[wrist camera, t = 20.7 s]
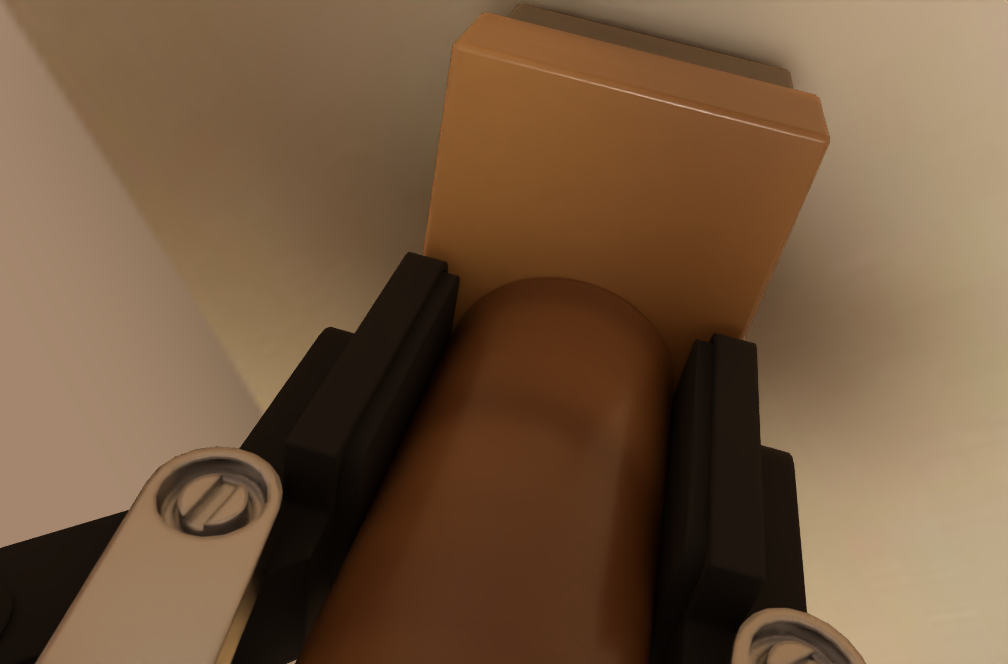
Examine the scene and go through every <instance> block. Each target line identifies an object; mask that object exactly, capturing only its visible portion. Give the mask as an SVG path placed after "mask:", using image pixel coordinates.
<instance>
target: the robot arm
mask: <svg viewBox="0 0 1008 664" xmlns="http://www.w3.org/2000/svg"><path fill="white" fill-rule="evenodd" d="M459 282H460V277H459V276H458V275H454V274H450V273H448V263H447V262H446V261H442V260H438V259H435V258H431V257H427V256H423V255H419V254H416V253H412V252H408V253H407V254H406V255H405V256H404V258H403V259H402V261H401V263H400V264H399V266H398V267H397V269H396V270H395V272H394V273H393V275H392V276H391V278H390V280H389V281H388V283H387V284H386V286H385V287H384V289H383V290H382V292H381V294H380V295H379V297H378V298H377V300H376V301H375V303H374V304H373V306H372V307H371V309H370V311H369V312H368V314H367V315H366V317H365V318H364V320H363V321H362V323H361V324H360V326H359V328H358V329H357V331H356V332H355V334H354V333H351V332H347V331H344V330H340V329H336V328H333V327H328V328H326V329H324V331H323V332H322V333H321V334H320V335H319V336H318V338H317V339H316V341H315V342H314V343H313V345H312V346H311V348H310V349H309V351H308V352H307V353H306V355H305V356H304V358H303V359H302V361H301V362H300V363H299V365H298V366H297V368H296V369H295V370H294V372H293V373H292V375H291V376H290V378H289V379H288V380H287V382H286V383H285V385H284V386H283V387H282V389H281V390H280V392H279V393H278V395H277V396H276V397H275V399H274V400H273V402H272V403H271V405H270V406H269V407H268V409H267V410H266V412H265V413H264V414H263V416H262V417H261V419H260V420H259V422H258V423H257V425H256V426H255V427H254V429H253V430H252V431H251V433H250V434H249V436H248V437H247V439H246V440H245V441H244V443H243V444H242V446H241V447H240V448H239V449H238V448H230V447H217V446H216V447H209V448H201V449H195V450H192V451H189V452H187V453H184V454H181V455H178V456H176V457H174V458H172V459H171V460H170V461H168V462H166V463H165V464H163V465H162V466H160V467H159V468H158V469H157V470H156V471H155V472H154V473H153V475H152V476H151V477H150V478H149V479H148V480H147V482H146V483H145V485H144V486H143V488H142V490H141V491H140V493H139V495H138V496H137V498H136V500H135V501H134V503H133V504H132V506H131V508H130V509H129V510H127V511H124V512H120V513H117V514H113V515H111V516H107V517H103V518H100V519H97V520H93V521H90V522H86V523H83V524H80V525H76V526H73V527H70V528H66V529H63V530H60V531H56V532H53V533H49V534H46V535H43V536H39V537H36V538H32V539H29V540H26V541H22V542H19V543H16V544H12V545H9V546H5V547H2V548H0V664H287V663H290V662H292V661H294V660H297V658H298V656H299V654H300V652H301V650H302V648H303V646H304V644H305V642H306V640H307V637H308V635H309V633H310V631H311V629H312V627H313V625H314V623H315V621H316V619H317V616H318V614H319V612H320V610H321V608H322V606H323V604H324V602H325V600H326V598H327V596H328V593H329V591H330V589H331V587H332V585H333V583H334V581H335V579H336V577H337V575H338V573H339V570H340V568H341V566H342V564H343V562H344V560H345V558H346V556H347V554H348V552H349V549H350V547H351V545H352V543H353V541H354V539H355V537H356V535H357V533H358V531H359V529H360V526H361V524H362V522H363V520H364V518H365V516H366V514H367V512H368V510H369V508H370V505H371V503H372V501H373V499H374V497H375V495H376V493H377V491H378V489H379V487H380V485H381V482H382V480H383V478H384V476H385V474H386V472H387V470H388V468H389V466H390V464H391V462H392V459H393V457H394V455H395V453H396V451H397V449H398V447H399V445H400V443H401V441H402V438H403V436H404V434H405V432H406V430H407V428H408V426H409V424H410V422H411V420H412V418H413V415H414V413H415V411H416V409H417V407H418V405H419V403H420V401H421V399H422V397H423V395H424V392H425V390H426V388H427V386H428V384H429V382H430V380H431V378H432V376H433V374H434V371H435V369H436V367H437V365H438V363H439V361H440V359H441V357H442V355H443V353H444V351H445V348H446V346H447V344H448V342H449V340H450V338H451V332H452V326H453V320H454V314H455V308H456V302H457V295H458V289H459ZM650 664H866V663H865V661H864V659H863V657H862V656H861V655H860V653H859V652H858V651H857V650H856V649H855V647H854V646H853V645H852V644H851V643H850V641H849V640H848V639H847V638H846V637H844V636H843V635H842V634H841V633H839V632H838V631H837V630H836V629H834V628H833V627H832V626H831V625H829V624H828V623H826V622H824V621H822V620H820V619H818V618H816V617H814V616H812V615H810V614H809V613H807V607H806V596H805V584H804V573H803V561H802V550H801V538H800V527H799V515H798V504H797V492H796V480H795V469H794V462H793V457H792V456H791V455H790V453H788V452H784V451H781V450H777V449H773V448H770V447H766V446H762V445H761V440H760V415H759V391H758V366H757V347H756V344H755V343H752V342H748V341H744V340H740V339H737V338H733V337H729V336H725V335H721V334H718V333H714V334H713V335H712V337H711V339H710V341H709V342H706V341H702V340H699V339H696V340H695V342H694V344H693V346H692V348H691V351H690V354H689V356H688V359H687V361H686V364H685V367H684V369H683V372H682V375H681V377H680V380H679V383H678V385H677V388H676V391H675V393H674V396H673V404H672V416H671V427H670V438H669V450H668V461H667V472H666V484H665V495H664V506H663V518H662V529H661V540H660V552H659V563H658V574H657V586H656V597H655V608H654V620H653V631H652V642H651V654H650Z"/></svg>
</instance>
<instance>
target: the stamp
mask: <svg viewBox="0 0 1008 664" xmlns="http://www.w3.org/2000/svg"><path fill="white" fill-rule="evenodd" d="M829 143H830V136H829V132H828V129H827V125H826V121H825V117H824V113H823V109H822V105H821V102H820V98H819V97H818V96H816V95H814V94H810V93H806V92H802V91H798V90H794V89H793V84H792V79H791V73H790V72H789V71H787V70H785V69H781V68H777V67H773V66H769V65H765V64H761V63H757V62H753V61H749V60H745V59H741V58H737V57H733V56H729V55H725V54H721V53H717V52H713V51H709V50H705V49H701V48H697V47H693V46H689V45H685V44H681V43H677V42H673V41H669V40H665V39H661V38H657V37H653V36H649V35H645V34H641V33H637V32H633V31H629V30H625V29H621V28H617V27H613V26H609V25H605V24H601V23H597V22H593V21H589V20H585V19H581V18H577V17H573V16H569V15H565V14H561V13H557V12H553V11H549V10H545V9H541V8H537V7H533V6H529V5H525V4H521V5H518V6H517V7H516V8H515V10H514V11H513V12H512V13H511V14H510V15H509V17H504V16H500V15H496V14H492V13H488V12H487V13H482V14H481V15H480V16H479V17H478V18H477V19H476V21H475V22H474V23H473V24H472V25H471V26H470V27H469V28H468V29H467V30H466V31H465V32H464V33H463V34H462V35H461V36H460V37H459V38H458V39H457V41H456V42H455V43H454V45H453V46H452V53H451V60H450V67H449V74H448V81H447V88H446V95H445V102H444V109H443V116H442V123H441V130H440V137H439V144H438V151H437V158H436V165H435V172H434V179H433V186H432V193H431V200H430V207H429V214H428V221H427V228H426V235H425V242H424V249H423V256H427V257H431V258H435V259H438V260H442V261H446V262H447V263H448V273H450V274H454V275H458V276H459V277H460V282H459V289H458V295H457V302H456V308H455V314H454V320H453V326H452V332H451V338H450V340H449V342H448V344H447V346H446V348H445V351H444V353H443V355H442V357H441V359H440V361H439V363H438V365H437V367H436V369H435V371H434V374H433V376H432V378H431V380H430V382H429V384H428V386H427V388H426V390H425V392H424V395H423V397H422V399H421V401H420V403H419V405H418V407H417V409H416V411H415V413H414V415H413V418H412V420H411V422H410V424H409V426H408V428H407V430H406V432H405V434H404V436H403V438H402V441H401V443H400V445H399V447H398V449H397V451H396V453H395V455H394V457H393V459H392V462H391V464H390V466H389V468H388V470H387V472H386V474H385V476H384V478H383V480H382V482H381V485H380V487H379V489H378V491H377V493H376V495H375V497H374V499H373V501H372V503H371V505H370V508H369V510H368V512H367V514H366V516H365V518H364V520H363V522H362V524H361V526H360V529H359V531H358V533H357V535H356V537H355V539H354V541H353V543H352V545H351V547H350V549H349V552H348V554H347V556H346V558H345V560H344V562H343V564H342V566H341V568H340V570H339V573H338V575H337V577H336V579H335V581H334V583H333V585H332V587H331V589H330V591H329V593H328V596H327V598H326V600H325V602H324V604H323V606H322V608H321V610H320V612H319V614H318V616H317V619H316V621H315V623H314V625H313V627H312V629H311V631H310V633H309V635H308V637H307V640H306V642H305V644H304V646H303V648H302V650H301V652H300V654H299V656H298V658H297V660H296V663H295V664H650V654H651V642H652V631H653V620H654V608H655V597H656V586H657V574H658V563H659V552H660V540H661V529H662V518H663V506H664V495H665V484H666V472H667V461H668V450H669V438H670V427H671V416H672V404H673V396H674V393H675V391H676V388H677V385H678V383H679V380H680V377H681V375H682V372H683V369H684V367H685V364H686V361H687V359H688V356H689V354H690V351H691V348H692V346H693V344H694V342H695V340H696V339H699V340H702V341H706V342H709V341H710V339H711V337H712V335H713V334H714V333H718V334H721V335H725V336H729V337H733V338H737V339H740V340H744V338H745V336H746V334H747V331H748V329H749V327H750V325H751V322H752V320H753V318H754V315H755V313H756V311H757V308H758V306H759V304H760V302H761V299H762V297H763V295H764V292H765V290H766V288H767V286H768V283H769V281H770V279H771V276H772V274H773V272H774V270H775V267H776V265H777V263H778V260H779V258H780V256H781V253H782V251H783V249H784V247H785V244H786V242H787V240H788V237H789V235H790V233H791V231H792V228H793V226H794V224H795V221H796V219H797V217H798V215H799V212H800V210H801V208H802V205H803V203H804V201H805V198H806V196H807V194H808V192H809V189H810V187H811V185H812V182H813V180H814V178H815V176H816V173H817V171H818V169H819V166H820V164H821V162H822V160H823V157H824V155H825V153H826V150H827V148H828V146H829Z"/></svg>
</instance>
